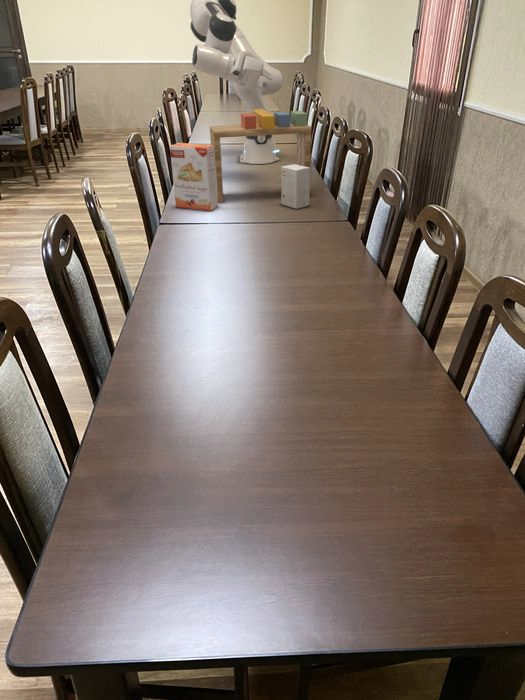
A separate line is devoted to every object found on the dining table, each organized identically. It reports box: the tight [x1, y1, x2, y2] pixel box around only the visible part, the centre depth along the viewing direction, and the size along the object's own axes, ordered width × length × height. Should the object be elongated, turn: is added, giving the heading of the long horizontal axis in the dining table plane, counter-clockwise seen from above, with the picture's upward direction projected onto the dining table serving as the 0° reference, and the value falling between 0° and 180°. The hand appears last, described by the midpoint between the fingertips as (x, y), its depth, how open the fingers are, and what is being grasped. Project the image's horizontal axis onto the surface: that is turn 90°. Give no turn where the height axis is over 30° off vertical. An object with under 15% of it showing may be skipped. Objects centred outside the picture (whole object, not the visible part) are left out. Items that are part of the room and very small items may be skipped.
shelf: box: [209, 123, 312, 204], centre depth 195 cm, size 12×34×24 cm, turn 101°
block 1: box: [240, 112, 256, 129], centre depth 187 cm, size 8×4×4 cm, turn 11°
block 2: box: [273, 111, 291, 127], centre depth 189 cm, size 8×4×4 cm, turn 11°
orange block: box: [252, 109, 274, 129], centre depth 191 cm, size 20×4×4 cm, turn 11°
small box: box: [280, 163, 311, 209], centre depth 185 cm, size 8×6×13 cm
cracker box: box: [169, 142, 219, 212], centre depth 183 cm, size 14×6×21 cm, turn 68°
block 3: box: [290, 110, 308, 127], centre depth 190 cm, size 8×4×4 cm, turn 11°
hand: (269, 81), depth 205 cm, fingers open, 8 cm apart
